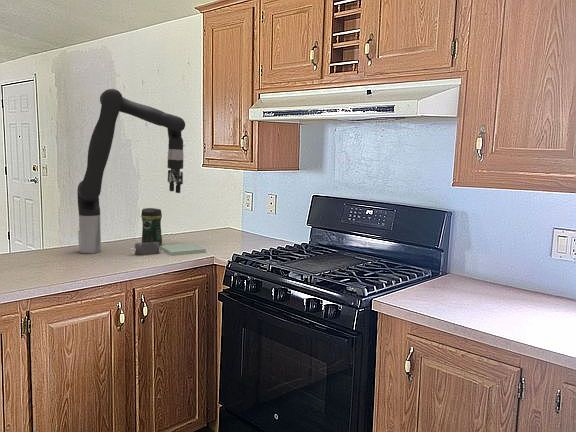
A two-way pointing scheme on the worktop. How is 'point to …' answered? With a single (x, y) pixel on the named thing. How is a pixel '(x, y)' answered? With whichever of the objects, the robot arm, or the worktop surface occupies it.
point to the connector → (146, 248)
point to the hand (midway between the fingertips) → (174, 192)
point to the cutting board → (182, 249)
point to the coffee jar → (151, 225)
